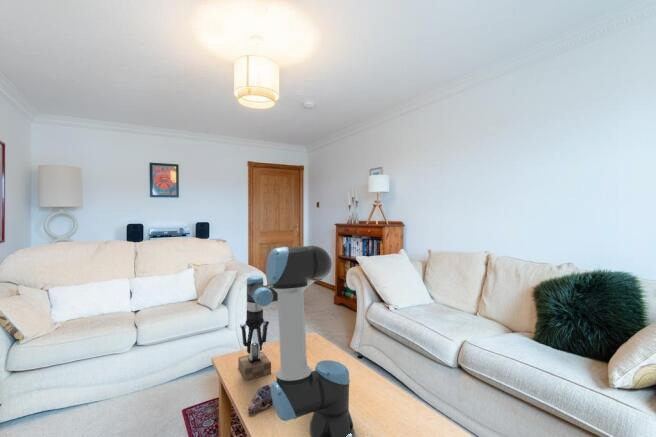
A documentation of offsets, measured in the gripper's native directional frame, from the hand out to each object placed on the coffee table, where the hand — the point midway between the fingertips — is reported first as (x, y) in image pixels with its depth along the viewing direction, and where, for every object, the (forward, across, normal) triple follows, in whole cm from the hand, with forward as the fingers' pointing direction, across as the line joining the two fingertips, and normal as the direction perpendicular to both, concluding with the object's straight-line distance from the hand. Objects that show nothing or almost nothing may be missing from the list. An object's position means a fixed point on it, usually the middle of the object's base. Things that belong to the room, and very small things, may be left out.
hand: (254, 358), depth 144 cm
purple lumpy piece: (+6, +6, +26) cm, 27 cm away
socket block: (+6, 0, 0) cm, 6 cm away
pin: (+3, 0, 0) cm, 3 cm away
